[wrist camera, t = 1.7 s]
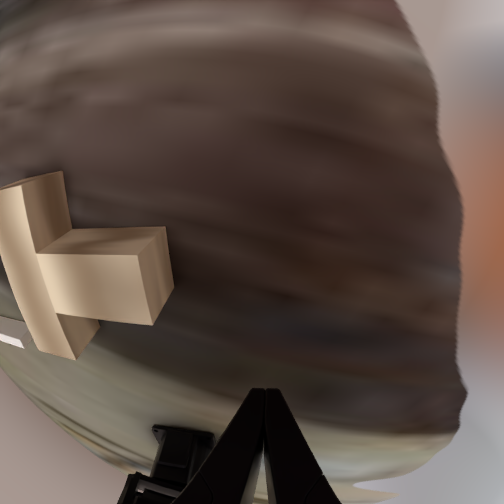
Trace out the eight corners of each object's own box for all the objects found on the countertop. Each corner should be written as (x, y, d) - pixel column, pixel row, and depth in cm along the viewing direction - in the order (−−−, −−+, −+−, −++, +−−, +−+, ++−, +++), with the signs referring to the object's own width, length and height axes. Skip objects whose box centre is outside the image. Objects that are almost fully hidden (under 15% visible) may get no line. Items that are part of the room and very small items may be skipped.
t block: (158, 157, 15) (124, 168, 11) (183, 336, 20) (167, 376, 16) (25, 178, 16) (-14, 193, 12) (63, 321, 21) (38, 350, 17)
